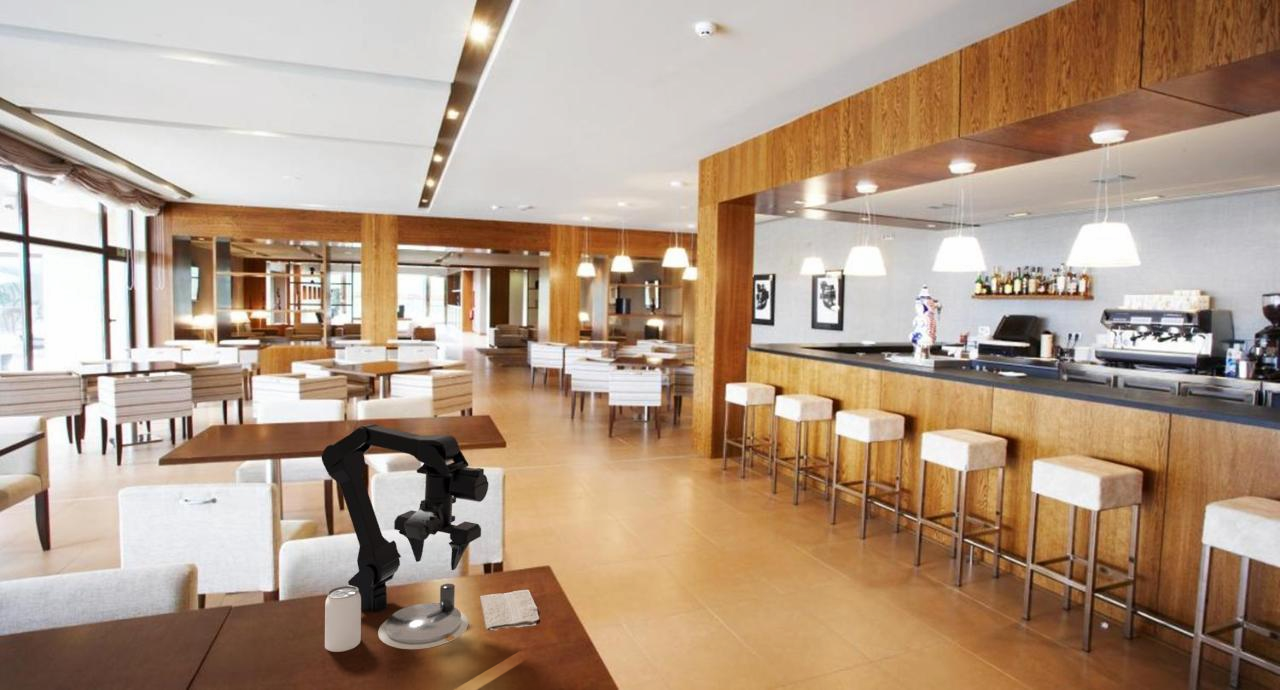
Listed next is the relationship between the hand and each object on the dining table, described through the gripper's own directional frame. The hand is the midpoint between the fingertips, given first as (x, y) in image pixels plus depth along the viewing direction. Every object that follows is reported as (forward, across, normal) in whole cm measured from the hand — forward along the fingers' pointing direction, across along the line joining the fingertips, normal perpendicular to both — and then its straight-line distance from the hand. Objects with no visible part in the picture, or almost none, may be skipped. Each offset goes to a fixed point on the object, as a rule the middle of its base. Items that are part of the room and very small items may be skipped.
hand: (435, 565), depth 141 cm
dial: (+12, +1, -4) cm, 12 cm away
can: (+14, -9, -16) cm, 23 cm away
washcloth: (+13, +13, +10) cm, 21 cm away
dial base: (+13, +1, -4) cm, 14 cm away
